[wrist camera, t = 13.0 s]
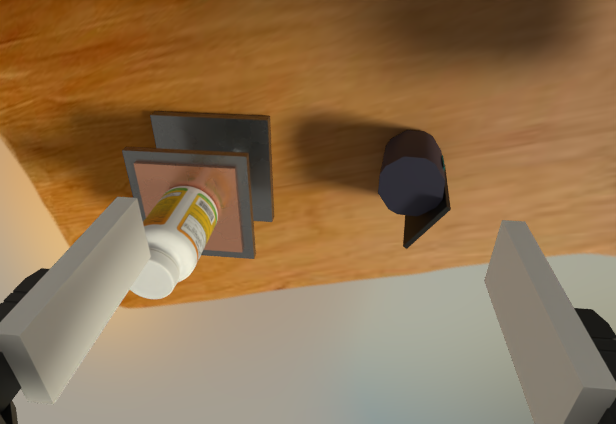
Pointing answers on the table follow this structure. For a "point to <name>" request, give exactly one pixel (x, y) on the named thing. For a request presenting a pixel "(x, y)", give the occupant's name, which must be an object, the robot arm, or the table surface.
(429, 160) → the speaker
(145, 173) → the stand
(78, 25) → the table surface
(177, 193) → the supplement bottle
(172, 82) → the table surface
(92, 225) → the robot arm
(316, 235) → the table surface
